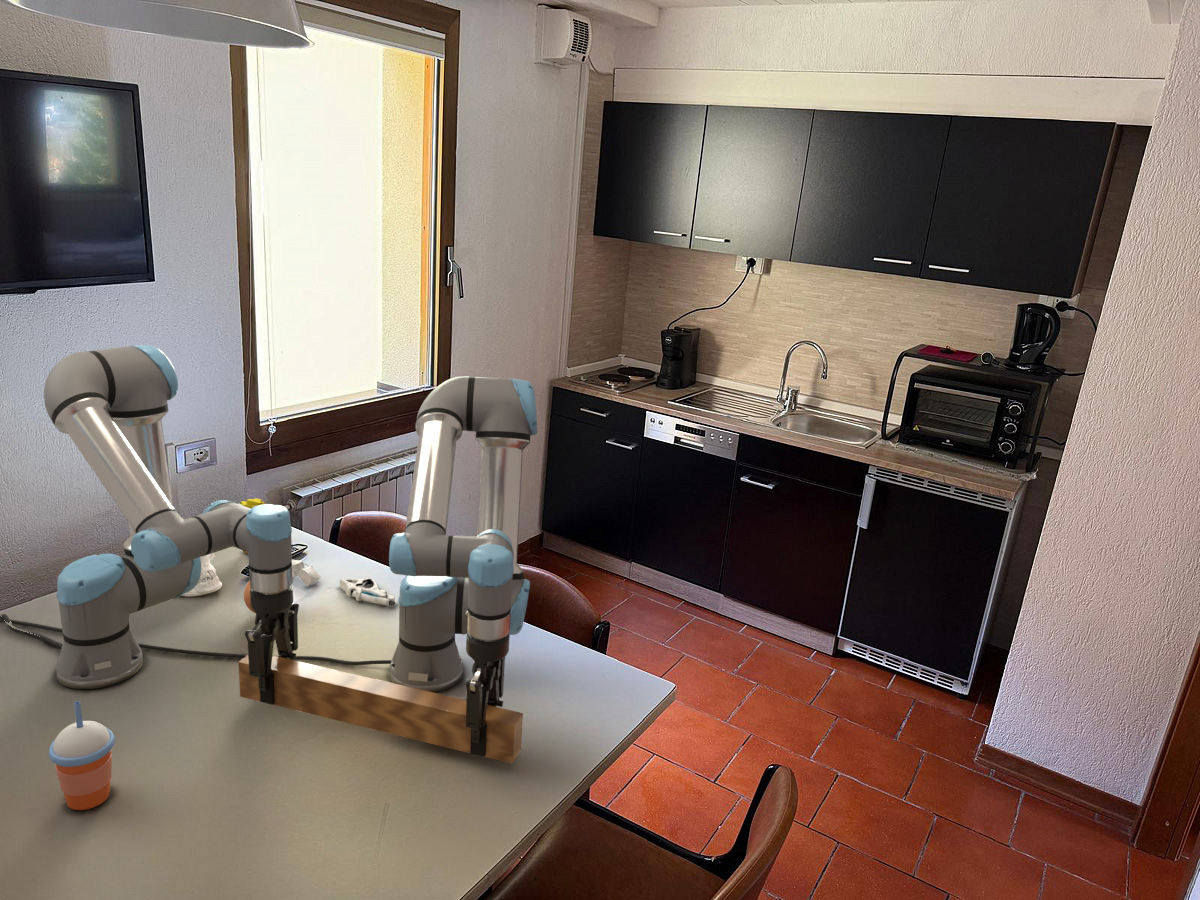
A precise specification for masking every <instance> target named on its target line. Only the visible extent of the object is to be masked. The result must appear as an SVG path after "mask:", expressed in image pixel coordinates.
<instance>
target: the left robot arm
mask: <svg viewBox="0 0 1200 900" xmlns="http://www.w3.org/2000/svg"><path fill="white" fill-rule="evenodd" d="M178 389H179V380H178V376H177V371H176V370H175V367H174V365H173V363H172V362H171V360H170V358H169V357H168V356H167V355H166V354H165V352H163V351H162V350H161V349H159V348H158V347H156V346H153V345H147V344H145V345H144V344H143V345H125V346H118V347H111V348H110V347H109V348H102V349H95V350H89V351H88V350H83V351H76V352H73V353H70V354H68V355H66V356H65V357H62V358H61V359H60V360H59V361H58V362H56V363H55V364H54V366H52V368H51V369H50V371H49V372H48V374H47V377H46V380H45V383H44V387H43V400H44V407H45V410H46V413H47V415H48V417H49V419H50V420H51V422H52V423H53V425H54V427H55V428H56V430H58V431H59V432H60V433H62V434H66V435H68V437H70V439H71V440H72V442H73V443H74V445H75V446H76V448H77V449H78V451H79V453H81V455H82V456H83V458H84V460H85V461H86V462H87V465H88V466H89V467H90V468H91V470H92V471H93V472H94V474H95V476H96V477H97V479H98V480H99V481H100V483H101V485H102V487H104V489H105V491H106V492H107V493H108V495H109V496H110V497H111V499H112V501H113V502H114V503H115V505H116V506H117V508H118V509H119V511H120V512H121V514H122V516H124V518H125V520H126V521H127V522H128V529H129V537H128V538H127V539H126V540H125V542H123V553H124V556H123V557H121V556H120V555H117V554H114V553H101V554H98V555H97V554H91V555H87V556H85V557H81V558H79V559H77V560H75V561H73V562H71V563H69V564H68V565H66V566H65V567H64V568H63V569H62V570H61V571H60V573H59V575H58V576H57V581H56V585H57V586H56V588H57V589H56V591H57V592H56V599H57V601H58V607H59V608H58V609H59V615H60V623H61V629H62V631H63V633H62V637H63V642H62V643H60V642H58V641H56V640H54V639H52V638H50V637H47V636H45V635H43V634H40V633H38V632H35V631H31V630H27V631H28V632H29V631H30V632H31V633H33V634H30V632H29V633H27V632H23V631H20V630H17V629H14V628H12V627H11V626H9V625H7V624H6V626H7V627H8V628H9V629H10V630H11V631H13V632H16V633H18V634H21V635H24V636H28V637H32V638H35V639H38V640H40V641H43V642H44V643H47V644H49V645H51V646H53V647H54V648H58V649H60V652H59V656H58V659H57V663H56V667H55V672H56V679H57V681H58V682H59V684H61V685H62V686H64V687H67V688H69V689H73V690H74V689H75V690H95V689H101V688H107V687H110V686H113V685H116V684H119V683H121V682H123V681H126V680H127V679H130V678H131V677H133V676H134V675H135V674H137V673H138V672H139V671H140V670H141V668H142V666H143V665H144V657H143V656H144V655H143V650H142V648H140V647H139V645H138V642H137V639H136V638H135V636H134V634H133V632H132V630H131V626H130V615H133V614H135V613H137V612H140V611H143V610H145V609H148V608H151V607H153V606H156V605H159V604H161V603H164V602H168V601H170V600H175V599H177V598H179V597H180V596H181V597H182V594H185V593H187V592H189V591H191V590H192V589H193V588H194V587H195V586H196V585H197V584H198V581H200V580H199V579H200V578H201V576H200V575H201V559H200V557H201V556H206V555H209V554H212V553H218V552H221V551H223V550H226V549H229V548H236V549H238V550H241V551H242V552H243V551H247V552H248V553H247V559H248V569H249V570H248V571H249V581H250V588H251V590H250V602H251V608H252V609H253V610H254V611H255V613H256V614H255V613H254V614H255V619H254V626H253V628H252V629H246V630H245V632H244V636H245V639H246V643H247V655H248V659H249V674H250V676H254V677H258V683H259V690H260V701H259V702H260V703H263V704H268V705H271V706H274V705H273V704H274V703H275V691H274V673H271V665H272V655H273V656H274V645H275V646H276V650H277V654H278V655H277V656H281V657H282V658H286V659H290V660H291V658H292V659H294V658H295V657H296V656H297V653H295V652H294V651H297V650H298V649H299V625H298V624H299V623H298V614H299V608H300V604H299V603H297V602H294V586H293V584H294V577H293V571H292V560H293V551H292V548H293V547H292V545H293V543H292V532H293V528H292V525H291V515H290V511H289V509H288V508H287V507H285V506H283V505H280V504H273V503H265V504H263V505H258V506H255V507H253V508H251V509H250V508H247V507H245V506H243V505H241V504H240V503H238V502H235V501H230V500H226V499H218V500H215V501H213V502H211V503H210V504H209V505H208V506H207V507H205V508H204V510H203V511H202V513H200V514H197V515H193V516H189V517H186V518H182V516H181V515H180V514H179V512H178V511H177V510H176V507H174V503H173V496H172V489H171V488H172V487H171V481H170V472H169V466H168V459H167V451H166V443H165V436H164V427H163V421H162V420H163V418H164V417H165V416H166V414H167V413H168V412H169V404H168V401H171V400H172V399H173V398H174V397H175V396H176V395H177V391H178ZM1 615H2V617H1ZM1 615H0V618H2V619H4V620H5V621H6V622H8V623H9V622H10V620H11V619H10V618H9V616H8V615H7V614H6V613H2V614H1ZM34 634H36V635H34ZM37 635H38V636H37ZM39 636H40V637H39Z"/></svg>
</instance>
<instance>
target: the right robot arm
mask: <svg viewBox="0 0 1200 900" xmlns="http://www.w3.org/2000/svg"><path fill="white" fill-rule="evenodd" d="M536 403H537V401H536V392H535V387H534V385H533V384H532V382H531V381H528V380H524V379H518V378H513V377H511V378H507V377H484V376H483V377H482V376H469V375H460V376H459V375H458V376H455V377H453V378H452V377H451V378H449V379H447V380H445V381H443V382H442V383H441V384H439V385H438V386H436V387H434V389H433V390H431V392H430V393H429V394H428V395H427V397H426V398H425V399H424V400H423V402H422V404H421V406H420V408H419V410H418V412H417V416H416V421H415V433H416V434H417V435H418V440H417V448H416V455H415V460H414V468H413V475H412V481H411V488H410V493H409V501H408V507H407V515H406V520H405V521H406V522H405V527H404V528H405V529H404V532H401V533H394V534H392V537H391V539H390V543H389V553H388V565H389V569H390V571H391V572H392V574H395V575H399V576H404V577H403V579H402V580H401V581H400V585H399V595H398V598H397V601H398V643H397V645H396V648H395V651H394V653H393V656H392V659H377V660H361V661H355V660H353V661H352V660H342V659H338V658H337V659H336V658H332V657H331V658H330V657H324V656H314V655H313V656H311V655H296V657H295V658H294V659H292V658H291V660H295V661H320V662H321V661H322V662H327V663H333V664H338V665H347V666H365V665H389V679H390V681H391V683H395V684H399V685H403V686H408V687H412V688H416V689H421V690H425V691H429V692H434V693H438V692H441V691H445V690H447V689H450V688H451V687H453V686H455V685H456V684H457V683H458V682H459V681H460V680H461V679H462V676H463V672H464V664H463V660H462V657H461V656H460V653H459V649H458V646H457V642H456V635H466V640H465V641H466V642H465V643H466V644H465V645H466V646H465V651H466V653H467V655H468V656H469V657H470V658H471V659H472V661H473V664H472V670H471V671H472V679H468V678H467V679H466V681H465V690H466V699H465V700H466V727H467V728H471V745H470V753H469V754H470V755H474V756H478V757H482V758H486V757H485V755H486V736H487V724H486V723H485V718H486V710H487V705H490V706H494V707H499V708H502V707H503V706H504V700H500V698H501V699H502V698H503V696H504V687H505V685H504V684H505V683H504V682H505V667H506V666H505V664H506V656H507V655H508V654H509V651H510V637H511V636H515V635H518V634H519V633H520V632H521V631H522V629H523V626H524V622H525V617H526V613H527V612H526V611H527V607H528V602H529V594H530V588H531V581H530V580H529V579H527V578H525V577H524V576H525V575H524V574H525V571H524V569H523V568H522V567H521V566H520V565H519V563H518V552H519V532H520V530H519V529H520V514H521V513H520V512H521V493H522V492H521V491H522V474H523V473H522V471H523V470H522V469H523V467H522V466H523V452H524V449H525V448H526V447H527V446H529V445H530V444H531V436H535V435H537V434H538V416H537V415H538V414H537V404H536ZM463 431H464V432H465V431H466V432H475V441H476V443H477V444H478V445H479V446H480V447H481V464H480V482H479V504H478V519H477V520H478V522H477V536H474V535H473V536H472V535H471V536H470V535H447V530H448V521H449V513H450V512H449V510H450V504H451V503H450V501H451V493H452V484H453V475H454V466H455V457H456V449H457V442H458V441H459V439H461V438H462V435H463ZM10 621H11V622H12V624H13V625H20V626H26V627H31V628H37V629H41V630H42V629H43V630H47V631H51V632H58V633H62V634H63V631H62V627H61V628H60V627H55V626H49V625H45V624H39V623H34V622H28V621H21V620H16V619H15V620H14V619H10ZM0 623H5V621H4V619H2V618H0ZM137 643H138V642H137ZM138 645H139V647H140V649H147V650H155V651H162V652H168V653H175V654H176V653H177V654H185V655H193V656H194V655H196V656H207V657H218V658H220V657H221V658H233V659H234V658H235V659H236V658H238V659H243V658H244V657H246V656H247V655H248V654H244V653H229V652H228V653H226V652H214V651H213V652H211V651H201V650H190V649H183V648H182V649H180V648H173V647H165V646H157V645H150V644H145V643H138ZM276 656H277V657H281V656H279V655H276Z"/></svg>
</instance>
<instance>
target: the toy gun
mask: <svg viewBox="0 0 1200 900" xmlns="http://www.w3.org/2000/svg"><path fill="white" fill-rule="evenodd" d="M368 585H369V586H371V587H366V586H368ZM339 588H340V589H341V590H342V591H344V592H345V593H346V596H347V597H349V598H353V597H354V598H355V600H356V601H357V602H361V601H363V602H364V601H365V602H368V603H371V604H377V605H383V606H385V607H389V606H391V607H395V605H396V602H395V600H396V599H395V598H396V596H395V595H392V594H390V593H388V592H387V591H386V590H384V589H380V588H379V585H378V583H377V582H376V580H375V579H374V578H372V577H364V578H356V579H355V578H354V579H344V578H341V579H339Z"/></svg>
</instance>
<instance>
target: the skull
mask: <svg viewBox="0 0 1200 900" xmlns="http://www.w3.org/2000/svg"><path fill="white" fill-rule="evenodd" d="M200 559H201V575H200V579H199V581H198V583H197V585H196V586H195V587H194V588H193V589H192V590H191V591H189V592H187V593H197V594H182V595H181V597H188V598H191V597H197V596H204V595H208V594H211V593H214V592H216V591H219V590H220V589H222V587H223V582H222V581H220V578H219V576H218V574H217V570H216V568H215V566H213V564H212V563H211V561H212V560H214V559H216V552H214V553H212V554H209V555H206V556H201V557H200ZM206 578H207V579H206Z"/></svg>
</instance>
